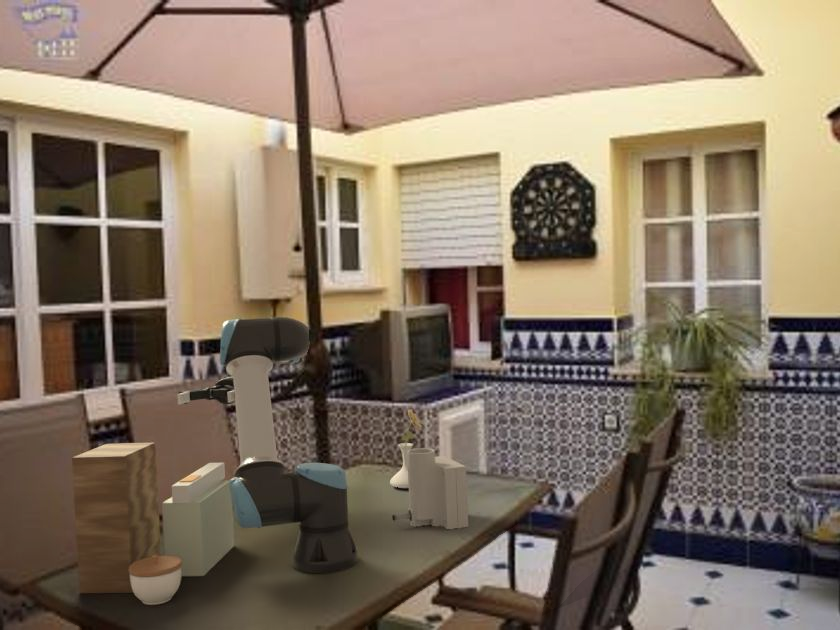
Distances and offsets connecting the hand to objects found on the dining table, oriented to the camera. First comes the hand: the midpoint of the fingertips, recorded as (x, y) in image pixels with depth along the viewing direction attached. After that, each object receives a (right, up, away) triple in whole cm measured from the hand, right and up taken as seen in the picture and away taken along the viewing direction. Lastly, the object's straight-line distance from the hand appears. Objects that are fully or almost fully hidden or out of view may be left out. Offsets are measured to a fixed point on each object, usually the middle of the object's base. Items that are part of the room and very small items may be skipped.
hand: (203, 398), depth 215 cm
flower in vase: (+54, -34, +50) cm, 80 cm away
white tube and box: (+59, -35, +6) cm, 69 cm away
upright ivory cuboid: (+4, -38, -17) cm, 42 cm away
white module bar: (+4, -21, -16) cm, 27 cm away
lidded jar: (+1, -39, -42) cm, 57 cm away
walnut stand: (-11, -39, -29) cm, 50 cm away
